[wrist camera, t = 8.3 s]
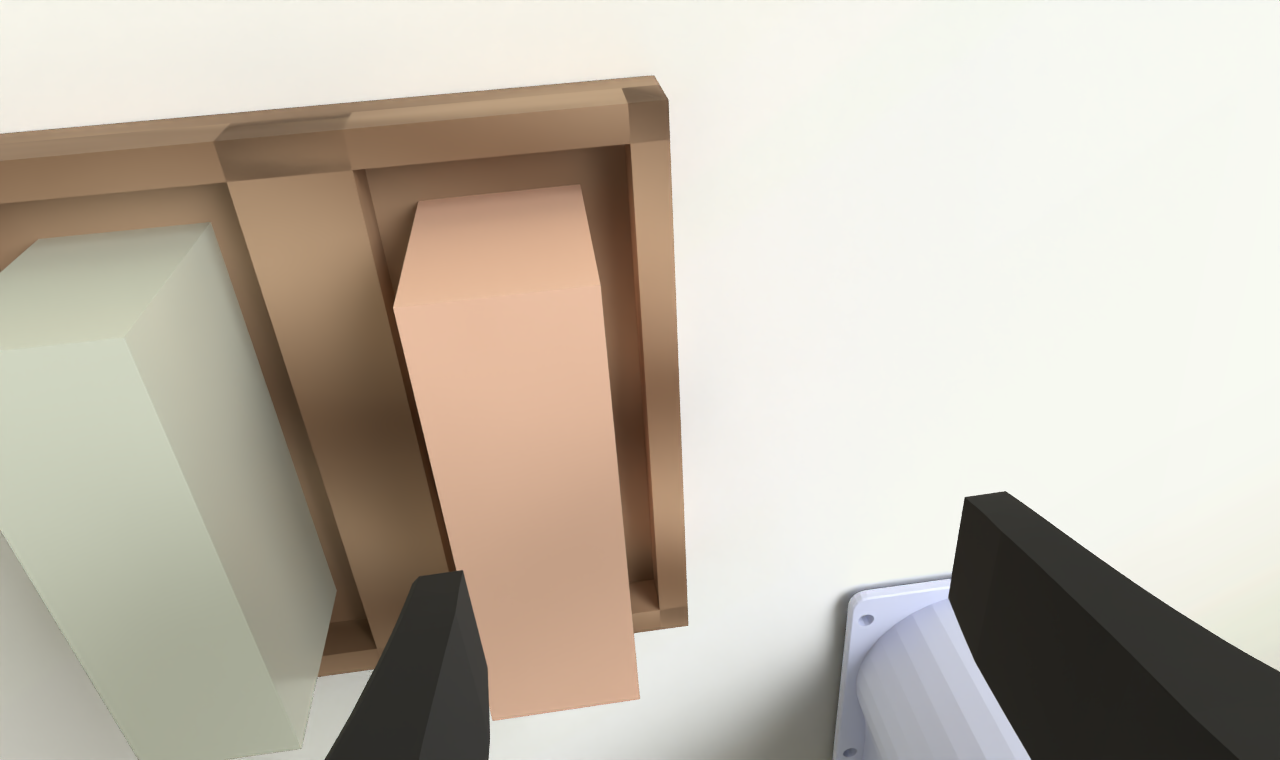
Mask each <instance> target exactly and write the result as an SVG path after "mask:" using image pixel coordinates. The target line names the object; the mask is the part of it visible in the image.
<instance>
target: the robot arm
mask: <svg viewBox="0 0 1280 760" xmlns="http://www.w3.org/2000/svg"><path fill="white" fill-rule="evenodd" d="M864 615H865V616H864ZM489 744H490V723H489V687H488V667H487V663H486V659H485V655H484V651H483V647H482V643H481V639H480V635H479V631H478V627H477V623H476V619H475V615H474V612H473V608H472V604H471V600H470V596H469V592H468V588H467V584H466V580H465V576H464V572H463V570H459V571H453V572H446V573H439V574H432V575H425V576H419V577H418V578H417V579H416V580H415V581H414V582H413V583H412V586H411V588H410V591H409V593H408V596H407V598H406V601H405V603H404V606H403V608H402V610H401V613H400V615H399V617H398V620H397V622H396V624H395V627H394V629H393V631H392V633H391V635H390V638H389V640H388V642H387V644H386V646H385V648H384V650H383V652H382V654H381V657H380V659H379V661H378V663H377V665H376V667H375V669H374V671H373V673H372V675H371V676H370V678H369V680H368V682H367V684H366V686H365V688H364V690H363V692H362V694H361V696H360V698H359V700H358V702H357V704H356V706H355V707H354V709H353V711H352V713H351V715H350V717H349V719H348V720H347V722H346V724H345V726H344V727H343V729H342V731H341V733H340V734H339V736H338V738H337V739H336V741H335V743H334V744H333V746H332V748H331V750H330V751H329V753H328V755H327V756H326V758H325V760H488V758H489ZM832 760H1280V672H1279V671H1277V670H1276V669H1274V668H1272V667H1270V666H1268V665H1266V664H1265V663H1263V662H1261V661H1259V660H1257V659H1256V658H1254V657H1252V656H1250V655H1248V654H1247V653H1245V652H1243V651H1242V650H1240V649H1238V648H1236V647H1235V646H1233V645H1231V644H1230V643H1228V642H1226V641H1224V640H1223V639H1221V638H1220V637H1218V636H1216V635H1215V634H1213V633H1212V632H1210V631H1208V630H1207V629H1205V628H1204V627H1202V626H1200V625H1199V624H1197V623H1195V622H1194V621H1192V620H1191V619H1189V618H1187V617H1186V616H1184V615H1183V614H1181V613H1179V612H1178V611H1176V610H1175V609H1173V608H1172V607H1170V606H1169V605H1167V604H1166V603H1164V602H1163V601H1161V600H1159V599H1158V598H1156V597H1155V596H1153V595H1152V594H1150V593H1149V592H1147V591H1146V590H1144V589H1143V588H1141V587H1140V586H1138V585H1137V584H1136V583H1134V582H1133V581H1131V580H1130V579H1128V578H1127V577H1125V576H1124V575H1122V574H1121V573H1120V572H1118V571H1117V570H1115V569H1114V568H1112V567H1111V566H1110V565H1108V564H1107V563H1105V562H1104V561H1102V560H1101V559H1100V558H1098V557H1097V556H1095V555H1094V554H1093V553H1091V552H1090V551H1088V550H1087V549H1086V548H1084V547H1083V546H1081V545H1080V544H1079V543H1077V542H1076V541H1074V540H1073V539H1072V538H1070V537H1069V536H1068V535H1066V534H1065V533H1063V532H1062V531H1061V530H1059V529H1058V528H1056V527H1055V526H1054V525H1052V524H1051V523H1050V522H1048V521H1047V520H1045V519H1044V518H1043V517H1041V516H1040V515H1039V514H1037V513H1036V512H1034V511H1033V510H1032V509H1030V508H1029V507H1027V506H1026V505H1025V504H1023V503H1022V502H1020V501H1019V500H1018V499H1016V498H1015V497H1013V496H1012V495H1010V494H1009V493H1007V492H1006V491H1004V492H997V493H991V494H984V495H977V496H970V497H965V499H964V505H963V511H962V517H961V523H960V529H959V535H958V541H957V547H956V553H955V559H954V565H953V571H952V577H951V579H943V580H936V581H929V582H922V583H914V584H907V585H900V586H893V587H885V588H878V589H871V590H864V591H860V592H858V593H856V594H855V595H853V597H852V598H851V599H850V601H849V604H848V614H847V624H846V633H845V643H844V653H843V662H842V672H841V682H840V691H839V701H838V711H837V720H836V730H835V740H834V749H833V759H832Z"/></svg>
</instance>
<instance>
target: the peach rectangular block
mask: <svg viewBox="0 0 1280 760" xmlns="http://www.w3.org/2000/svg"><path fill="white" fill-rule="evenodd" d="M393 309H394V314H395V318H396V322H397V326H398V330H399V334H400V338H401V343H402V347H403V351H404V355H405V359H406V363H407V368H408V372H409V376H410V380H411V384H412V388H413V392H414V397H415V401H416V405H417V409H418V413H419V417H420V421H421V426H422V430H423V434H424V438H425V442H426V446H427V450H428V455H429V459H430V463H431V467H432V471H433V475H434V479H435V484H436V488H437V492H438V496H439V500H440V504H441V508H442V513H443V517H444V521H445V525H446V529H447V533H448V537H449V542H450V546H451V550H452V554H453V558H454V562H455V566H456V571H459V570H463V572H464V576H465V580H466V584H467V588H468V592H469V596H470V600H471V604H472V608H473V612H474V615H475V619H476V623H477V627H478V631H479V635H480V639H481V643H482V647H483V651H484V655H485V659H486V663H487V667H488V687H489V707H490V711H491V716H492V720H493V721H495V720H502V719H509V718H515V717H522V716H529V715H536V714H542V713H549V712H556V711H563V710H569V709H576V708H583V707H590V706H596V705H603V704H610V703H617V702H623V701H630V700H637V699H640V695H639V684H638V674H637V663H636V653H635V642H634V632H633V621H632V611H631V600H630V590H629V579H628V569H627V558H626V548H625V537H624V527H623V516H622V506H621V495H620V485H619V474H618V464H617V453H616V443H615V432H614V422H613V411H612V401H611V390H610V379H609V369H608V358H607V348H606V337H605V327H604V316H603V306H602V295H601V285H600V280H599V275H598V270H597V265H596V260H595V255H594V250H593V245H592V240H591V235H590V230H589V225H588V221H587V216H586V211H585V206H584V201H583V196H582V191H581V186H580V184H578V185H568V186H558V187H549V188H539V189H529V190H520V191H510V192H500V193H491V194H481V195H471V196H462V197H452V198H443V199H433V200H423V201H418V205H417V210H416V214H415V218H414V222H413V226H412V231H411V235H410V239H409V243H408V248H407V252H406V256H405V260H404V264H403V269H402V273H401V277H400V281H399V285H398V290H397V294H396V298H395V302H394V306H393Z"/></svg>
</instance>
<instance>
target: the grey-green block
mask: <svg viewBox="0 0 1280 760" xmlns="http://www.w3.org/2000/svg"><path fill="white" fill-rule="evenodd" d="M0 531H1V532H2V534H3V536H4V537H5V539H6V541H7V542H8V544H9V546H10V547H11V549H12V551H13V552H14V554H15V556H16V557H17V559H18V561H19V562H20V564H21V566H22V567H23V569H24V571H25V572H26V574H27V576H28V577H29V579H30V581H31V582H32V584H33V586H34V587H35V589H36V591H37V592H38V594H39V596H40V597H41V599H42V600H43V602H44V604H45V605H46V607H47V609H48V610H49V612H50V614H51V615H52V617H53V619H54V620H55V622H56V624H57V625H58V627H59V629H60V630H61V632H62V634H63V635H64V637H65V639H66V640H67V642H68V644H69V645H70V647H71V649H72V650H73V652H74V654H75V655H76V657H77V659H78V660H79V662H80V664H81V665H82V667H83V669H84V670H85V672H86V674H87V675H88V677H89V679H90V680H91V682H92V684H93V685H94V687H95V689H96V690H97V692H98V694H99V695H100V697H101V699H102V700H103V702H104V704H105V705H106V707H107V709H108V710H109V712H110V713H111V715H112V717H113V718H114V720H115V722H116V723H117V725H118V727H119V728H120V730H121V732H122V733H123V735H124V737H125V738H126V740H127V742H128V743H129V745H130V747H131V748H132V750H133V752H134V753H135V755H136V757H137V758H138V760H228V759H235V758H242V757H248V756H255V755H262V754H269V753H276V752H283V751H290V750H297V749H302V744H303V740H304V735H305V731H306V726H307V722H308V718H309V713H310V709H311V704H312V700H313V695H314V691H315V686H316V682H317V677H318V673H319V668H320V664H321V659H322V655H323V650H324V646H325V641H326V637H327V633H328V628H329V624H330V619H331V615H332V610H333V606H334V601H335V597H336V592H337V590H336V587H335V584H334V581H333V578H332V575H331V572H330V570H329V567H328V564H327V561H326V558H325V555H324V552H323V549H322V546H321V543H320V540H319V537H318V534H317V531H316V529H315V526H314V523H313V520H312V517H311V514H310V511H309V508H308V505H307V502H306V499H305V496H304V493H303V490H302V488H301V485H300V482H299V479H298V476H297V473H296V470H295V467H294V464H293V461H292V458H291V455H290V452H289V449H288V447H287V444H286V441H285V438H284V435H283V432H282V429H281V426H280V423H279V420H278V417H277V414H276V411H275V408H274V406H273V403H272V400H271V397H270V394H269V391H268V388H267V385H266V382H265V379H264V376H263V373H262V370H261V367H260V365H259V362H258V359H257V356H256V353H255V350H254V347H253V344H252V341H251V338H250V335H249V332H248V329H247V326H246V324H245V321H244V318H243V315H242V312H241V309H240V306H239V303H238V300H237V297H236V294H235V291H234V288H233V285H232V283H231V280H230V277H229V274H228V271H227V268H226V265H225V262H224V259H223V256H222V253H221V250H220V247H219V244H218V242H217V239H216V236H215V233H214V230H213V227H212V224H211V222H206V223H196V224H186V225H175V226H165V227H155V228H145V229H135V230H125V231H114V232H104V233H94V234H84V235H74V236H64V237H54V238H43V239H38V240H37V241H36V242H34V243H33V244H32V245H31V246H30V247H29V248H28V249H26V250H25V251H24V252H23V253H22V254H21V255H20V256H19V257H17V258H16V259H15V260H14V261H13V262H12V263H11V264H9V265H8V266H7V267H6V268H5V269H4V270H3V271H1V272H0Z"/></svg>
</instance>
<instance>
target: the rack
mask: <svg viewBox="0 0 1280 760" xmlns="http://www.w3.org/2000/svg"><path fill="white" fill-rule="evenodd" d="M578 184H580V186H581V191H582V196H583V201H584V206H585V211H586V216H587V221H588V225H589V230H590V235H591V240H592V245H593V250H594V255H595V260H596V265H597V270H598V275H599V280H600V285H601V295H602V306H603V316H604V327H605V337H606V348H607V358H608V369H609V379H610V390H611V401H612V411H613V422H614V432H615V443H616V453H617V464H618V474H619V485H620V495H621V506H622V516H623V527H624V537H625V548H626V558H627V569H628V579H629V590H630V600H631V611H632V621H633V632H634V633H638V632H646V631H653V630H660V629H667V628H675V627H682V626H688V605H687V579H686V552H685V526H684V499H683V473H682V447H681V420H680V394H679V367H678V341H677V315H676V288H675V262H674V235H673V209H672V182H671V156H670V130H669V103H668V98H667V97H666V95H665V93H664V91H663V90H662V88H661V86H660V85H659V83H658V81H657V80H656V78H655V76H642V77H631V78H620V79H609V80H598V81H586V82H575V83H564V84H553V85H542V86H531V87H519V88H508V89H497V90H486V91H475V92H463V93H452V94H441V95H430V96H419V97H407V98H396V99H385V100H374V101H363V102H352V103H340V104H329V105H318V106H307V107H296V108H284V109H273V110H262V111H251V112H240V113H228V114H217V115H206V116H195V117H184V118H173V119H161V120H150V121H139V122H128V123H117V124H105V125H94V126H83V127H72V128H61V129H49V130H38V131H27V132H16V133H5V134H0V272H1V271H3V270H4V269H5V268H6V267H7V266H8V265H9V264H11V263H12V262H13V261H14V260H15V259H16V258H17V257H19V256H20V255H21V254H22V253H23V252H24V251H25V250H26V249H28V248H29V247H30V246H31V245H32V244H33V243H34V242H36V241H37V240H38V239H43V238H54V237H64V236H74V235H84V234H94V233H104V232H114V231H125V230H135V229H145V228H155V227H165V226H175V225H186V224H196V223H206V222H211V224H212V227H213V230H214V233H215V236H216V239H217V242H218V244H219V247H220V250H221V253H222V256H223V259H224V262H225V265H226V268H227V271H228V274H229V277H230V280H231V283H232V285H233V288H234V291H235V294H236V297H237V300H238V303H239V306H240V309H241V312H242V315H243V318H244V321H245V324H246V326H247V329H248V332H249V335H250V338H251V341H252V344H253V347H254V350H255V353H256V356H257V359H258V362H259V365H260V367H261V370H262V373H263V376H264V379H265V382H266V385H267V388H268V391H269V394H270V397H271V400H272V403H273V406H274V408H275V411H276V414H277V417H278V420H279V423H280V426H281V429H282V432H283V435H284V438H285V441H286V444H287V447H288V449H289V452H290V455H291V458H292V461H293V464H294V467H295V470H296V473H297V476H298V479H299V482H300V485H301V488H302V490H303V493H304V496H305V499H306V502H307V505H308V508H309V511H310V514H311V517H312V520H313V523H314V526H315V529H316V531H317V534H318V537H319V540H320V543H321V546H322V549H323V552H324V555H325V558H326V561H327V564H328V567H329V570H330V572H331V575H332V578H333V581H334V584H335V587H336V590H337V592H336V597H335V601H334V606H333V610H332V615H331V619H330V624H329V628H328V633H327V637H326V641H325V646H324V650H323V655H322V659H321V664H320V668H319V673H318V677H321V676H328V675H335V674H343V673H350V672H357V671H364V670H371V669H375V667H376V665H377V663H378V661H379V659H380V657H381V654H382V652H383V650H384V648H385V646H386V644H387V642H388V640H389V638H390V635H391V633H392V631H393V629H394V627H395V624H396V622H397V620H398V617H399V615H400V613H401V610H402V608H403V606H404V603H405V601H406V598H407V596H408V593H409V591H410V588H411V586H412V583H413V582H414V581H415V580H416V579H417V578H418V577H419V576H425V575H432V574H439V573H446V572H453V571H456V566H455V562H454V558H453V554H452V550H451V546H450V542H449V537H448V533H447V529H446V525H445V521H444V517H443V513H442V508H441V504H440V500H439V496H438V492H437V488H436V484H435V479H434V475H433V471H432V467H431V463H430V459H429V455H428V450H427V446H426V442H425V438H424V434H423V430H422V426H421V421H420V417H419V413H418V409H417V405H416V401H415V397H414V392H413V388H412V384H411V380H410V376H409V372H408V368H407V363H406V359H405V355H404V351H403V347H402V343H401V338H400V334H399V330H398V326H397V322H396V318H395V314H394V309H393V306H394V302H395V298H396V294H397V290H398V285H399V281H400V277H401V273H402V269H403V264H404V260H405V256H406V252H407V248H408V243H409V239H410V235H411V231H412V226H413V222H414V218H415V214H416V210H417V205H418V201H423V200H433V199H443V198H452V197H462V196H471V195H481V194H491V193H500V192H510V191H520V190H529V189H539V188H549V187H558V186H568V185H578Z"/></svg>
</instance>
